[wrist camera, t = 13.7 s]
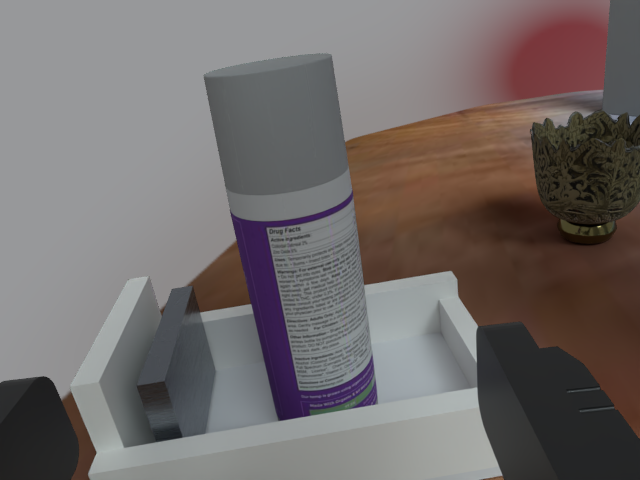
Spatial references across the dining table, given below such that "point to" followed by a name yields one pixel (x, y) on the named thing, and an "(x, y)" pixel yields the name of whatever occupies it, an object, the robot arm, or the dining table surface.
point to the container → (296, 229)
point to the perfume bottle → (623, 59)
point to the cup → (588, 173)
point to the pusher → (178, 371)
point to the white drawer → (306, 432)
